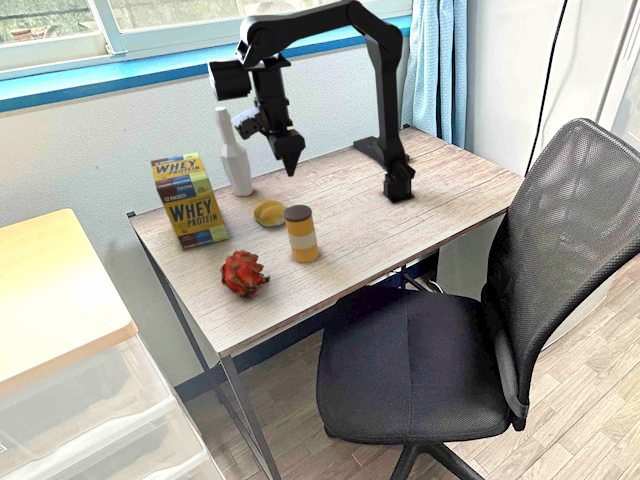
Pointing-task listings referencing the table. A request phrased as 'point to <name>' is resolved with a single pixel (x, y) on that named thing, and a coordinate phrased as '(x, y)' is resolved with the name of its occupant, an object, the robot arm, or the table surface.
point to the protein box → (189, 200)
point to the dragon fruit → (243, 274)
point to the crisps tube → (301, 233)
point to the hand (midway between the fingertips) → (284, 168)
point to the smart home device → (369, 146)
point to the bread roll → (270, 213)
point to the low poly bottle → (233, 156)
